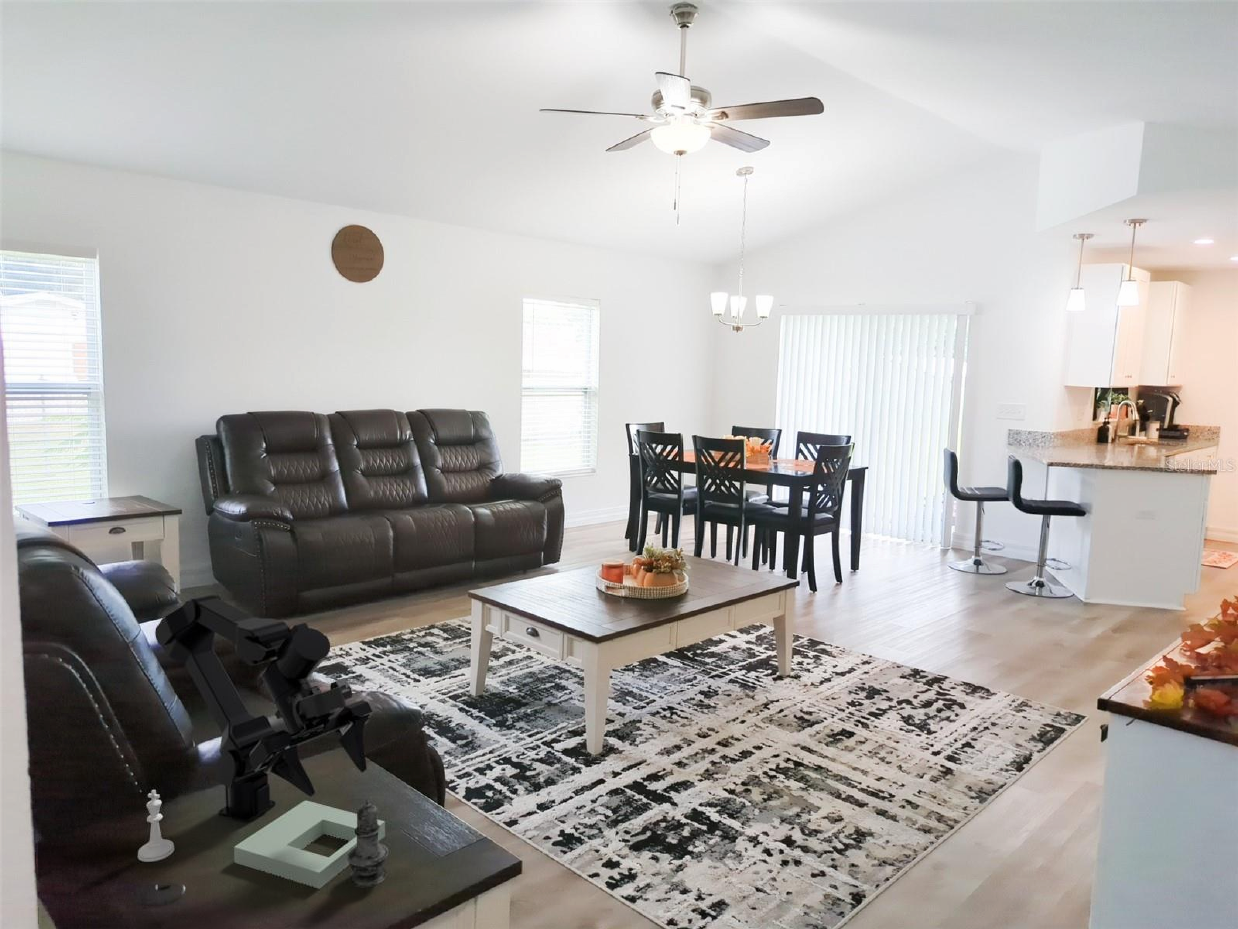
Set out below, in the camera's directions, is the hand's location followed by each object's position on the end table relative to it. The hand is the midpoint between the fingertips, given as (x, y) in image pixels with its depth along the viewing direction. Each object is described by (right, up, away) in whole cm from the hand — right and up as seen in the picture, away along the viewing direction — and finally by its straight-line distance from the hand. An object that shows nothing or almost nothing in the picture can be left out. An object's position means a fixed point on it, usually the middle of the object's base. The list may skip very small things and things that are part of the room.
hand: (339, 782), depth 127 cm
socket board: (-6, -12, +5) cm, 14 cm away
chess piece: (-29, -12, +3) cm, 31 cm away
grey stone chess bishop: (+5, -13, -2) cm, 14 cm away
